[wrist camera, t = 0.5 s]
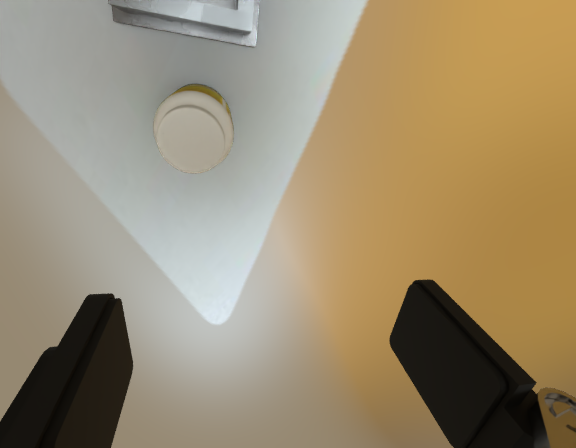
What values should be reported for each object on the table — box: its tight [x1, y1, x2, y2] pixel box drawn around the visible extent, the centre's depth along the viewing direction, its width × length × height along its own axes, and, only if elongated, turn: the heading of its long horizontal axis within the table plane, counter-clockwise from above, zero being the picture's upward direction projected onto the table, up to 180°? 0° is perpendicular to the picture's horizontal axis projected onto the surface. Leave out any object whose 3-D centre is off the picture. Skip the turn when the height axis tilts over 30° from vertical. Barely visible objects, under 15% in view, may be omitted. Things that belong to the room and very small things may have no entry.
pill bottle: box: [153, 84, 234, 173], centre depth 25 cm, size 6×6×11 cm
